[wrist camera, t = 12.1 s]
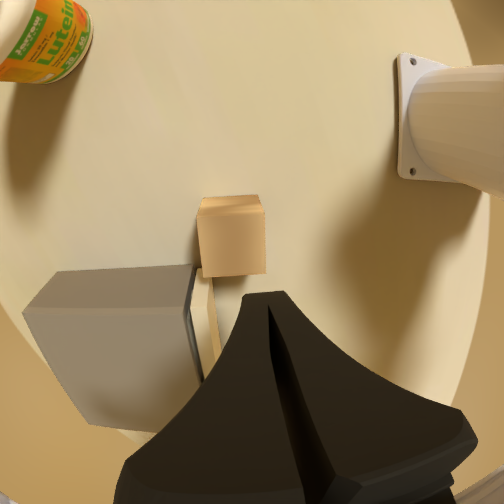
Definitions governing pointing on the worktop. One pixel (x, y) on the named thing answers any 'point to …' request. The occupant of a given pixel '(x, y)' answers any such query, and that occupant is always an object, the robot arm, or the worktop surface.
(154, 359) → the grey boxy piece
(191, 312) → the tray
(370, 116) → the worktop surface
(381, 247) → the worktop surface
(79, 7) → the supplement bottle
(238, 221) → the block
